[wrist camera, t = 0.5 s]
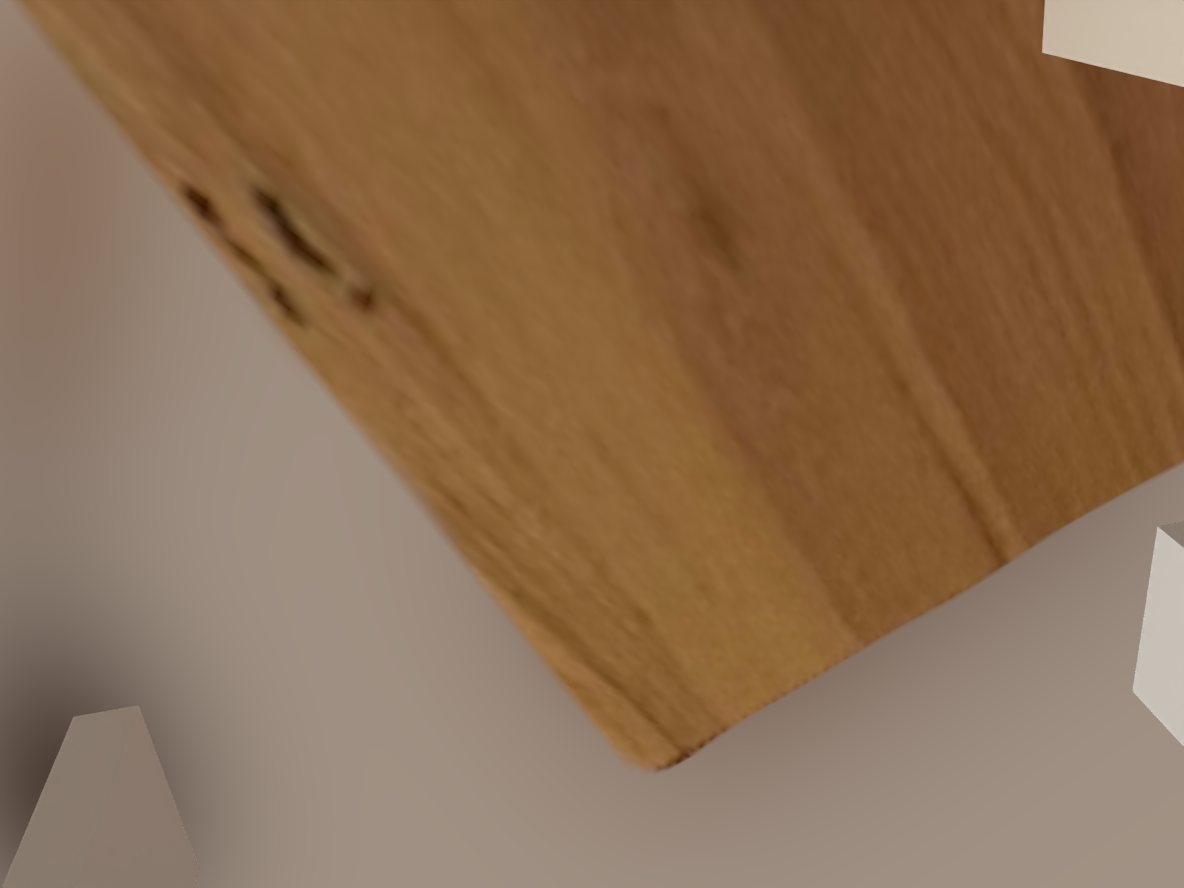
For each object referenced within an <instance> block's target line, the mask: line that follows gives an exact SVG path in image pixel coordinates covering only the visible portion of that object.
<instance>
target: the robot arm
mask: <svg viewBox="0 0 1184 888" xmlns="http://www.w3.org/2000/svg"><path fill="white" fill-rule="evenodd" d="M1133 692H1134V693H1135V694H1136V695H1137V697H1138V698H1139V699H1140V700H1141V701H1142V702H1143V703H1144V704H1145V705H1146V706H1147V707H1148V708H1149V709H1150V711H1151V712H1152V713H1153V714H1154V715H1155V716H1156V717H1157V718H1158V719H1159V720H1160V721H1161V722H1162V724H1163V725H1164V726H1165V727H1166V728H1167V729H1168V730H1169V731H1170V732H1171V733H1172V734H1173V735H1174V737H1175V738H1176V739H1177V740H1178V741H1179V742H1180V743H1181V744H1182V745H1183V746H1184V522H1180V523H1174V524H1168V525H1163V526H1158V527H1157V534H1156V540H1155V547H1154V554H1153V560H1152V567H1151V573H1150V580H1149V586H1148V593H1147V600H1146V606H1145V613H1144V619H1143V626H1142V632H1141V639H1140V646H1139V652H1138V659H1137V666H1136V672H1135V678H1134V685H1133ZM198 870H199V866H198V863H197V861H196V858H195V856H194V853H193V850H192V848H191V845H190V842H189V839H188V837H187V834H186V831H185V829H184V826H183V823H182V821H181V818H180V815H179V813H178V810H177V807H176V805H175V802H174V799H173V797H172V794H171V791H170V789H169V786H168V783H167V781H166V778H165V775H164V773H163V770H162V767H161V765H160V762H159V759H158V757H157V754H156V751H155V748H154V746H153V743H152V741H151V738H150V735H149V733H148V730H147V727H146V725H145V722H144V719H143V717H142V714H141V711H140V709H139V706H133V707H128V708H121V709H116V710H111V711H104V712H99V713H93V714H87V715H82V716H76V717H73V719H72V722H71V724H70V727H69V729H68V731H67V734H66V736H65V739H64V741H63V744H62V746H61V748H60V750H59V753H58V755H57V758H56V760H55V762H54V765H53V767H52V770H51V772H50V774H49V777H48V779H47V782H46V784H45V786H44V789H43V791H42V793H41V796H40V798H39V801H38V803H37V806H36V808H35V810H34V812H33V815H32V817H31V820H30V822H29V824H28V827H27V829H26V832H25V834H24V836H23V839H22V841H21V843H20V846H19V848H18V851H17V853H16V855H15V858H14V860H13V863H12V865H11V867H10V870H9V872H8V874H7V877H6V879H5V882H4V884H3V886H2V888H195V884H196V879H197V875H198Z"/></svg>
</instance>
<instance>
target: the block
mask: <svg viewBox="0 0 1184 888" xmlns="http://www.w3.org/2000/svg"><path fill="white" fill-rule="evenodd" d="M1042 53H1046V54H1050V55H1054V56H1058V57H1062V58H1067V59H1071V60H1075V61H1079V62H1083V63H1087V64H1091V65H1096V66H1100V67H1104V68H1108V69H1112V70H1116V71H1120V72H1125V73H1129V74H1133V75H1137V76H1141V77H1145V78H1149V79H1154V80H1158V81H1162V82H1166V83H1170V84H1174V85H1178V86H1182V87H1184V0H1045V11H1044V29H1043V47H1042Z"/></svg>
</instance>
